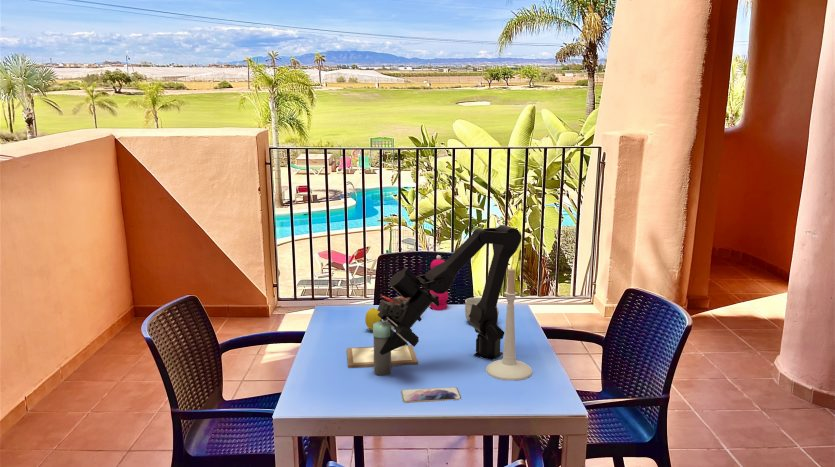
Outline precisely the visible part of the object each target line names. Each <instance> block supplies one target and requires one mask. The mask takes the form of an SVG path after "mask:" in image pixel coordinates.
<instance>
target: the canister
mask: <svg viewBox="0 0 835 467" xmlns="http://www.w3.org/2000/svg"><path fill="white" fill-rule="evenodd" d="M390 329H391V323H389V322H376V323H374V324H373V330H372V336H373V346H374V367H373V373H374V375H376V376H379V377H383V376H384V377H385V376H388V375H391V374H392V366H391V351H390V352H388V353H386V354H383V355H381V354H380V350H381V349H382V347H383V346H384V344H385V343H386V342H387V340H388V339H389V337H390Z"/></svg>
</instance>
